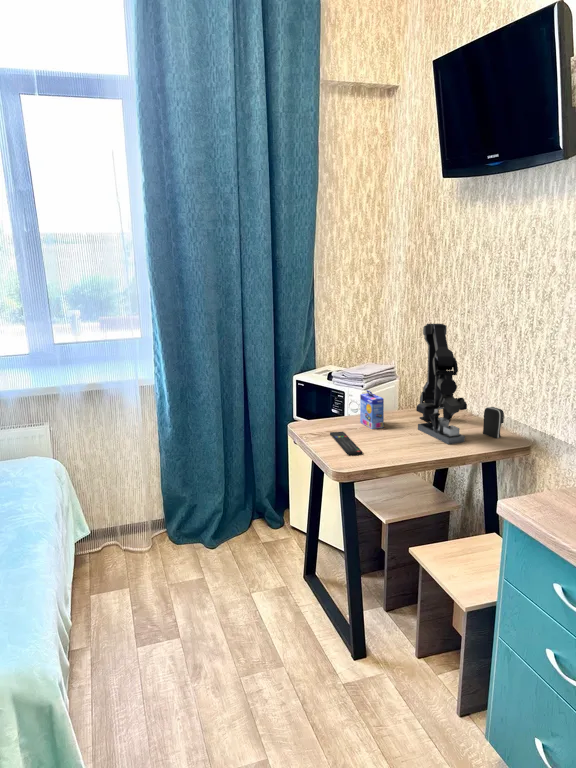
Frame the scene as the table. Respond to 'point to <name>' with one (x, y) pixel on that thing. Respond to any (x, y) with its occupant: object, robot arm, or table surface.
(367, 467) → the table surface
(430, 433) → the dark grey tray
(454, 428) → the light grey block
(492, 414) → the black zippered case
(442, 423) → the grey block
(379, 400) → the ink cartridge box
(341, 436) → the remote control
